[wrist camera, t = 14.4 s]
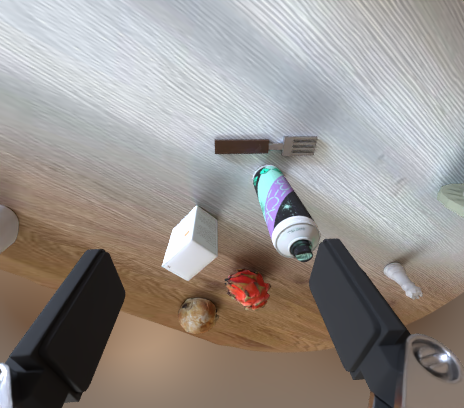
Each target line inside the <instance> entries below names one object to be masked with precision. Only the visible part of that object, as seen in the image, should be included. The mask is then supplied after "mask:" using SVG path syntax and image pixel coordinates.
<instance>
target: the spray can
mask: <svg viewBox="0 0 464 408" xmlns="http://www.w3.org/2000/svg"><path fill="white" fill-rule="evenodd" d="M253 184H254V187H255V190H256V193H257V196H258V199H259V202H260V206H261V209H262V212H263V215H264V218H265V221H266V224H267V227H268V230H269V233H270V236H271V239H272V242H273V245H274V247H275V248H276V250H277V252H278V253H279V254H280V255H282V256H284V257H287V258H297V259H298V260H299V261H301V262H307V261H309V260H311V259H312V257H313V254H312V251H314V250H315V249H316V248H317V246H318V245H319V243H320V240H321V234H320V231H319V229H318V226H317V225H316V223H315V222H314V220H313V219H312V217H311V216H310V214H309V213H308V211H307V210H306V208H305V207H304V205H303V204H302V202H301V201H300V199H299V198H298V196H297V195H296V193H295V192H294V190H293V189H292V187H291V186H290V184H289V183H288V181H287V180H286V178H285V177H284V175H283V174H282V172H281V171H280V169H279V168H278V167H276V166H274V165H264V166H261V167H260V168H258V169H257V170H256V172H255V173H254V175H253Z"/></svg>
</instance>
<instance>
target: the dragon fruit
mask: <svg viewBox="0 0 464 408" xmlns="http://www.w3.org/2000/svg"><path fill="white" fill-rule="evenodd" d="M236 271H238V272H237V273H236V274H233V275H229V277H228V279H225V281H227V280H228V281H227V282H226V283H224V284H225V285H226V287H227V288H228V293H227V294H228V295H229V296H232V295H230V293H232V294H234V295H236V297H235V298H234V296H232V299H234V300H237V302H238V303H240V304H241V303H242V304H243V306H244V307H245V309H246V310H248V309H249V308H250V307H251V308H252V310H258V309H259V308H261V307H262V308H263V307H264V306H265V304H266V303H267V300H268V298H269V297H270V295H269V294H268V293H267V291H268V290H269V289H270V288H271V286H270V284H269V283H267V284H266V283H264V281H263V278H262V275H261V274H260V272H258V271H257V272H256V274H255V273H253V272H250V271H249V270H245V269H237V270H236ZM229 282H230V283H229Z"/></svg>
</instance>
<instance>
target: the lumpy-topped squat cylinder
mask: <svg viewBox="0 0 464 408" xmlns="http://www.w3.org/2000/svg"><path fill="white" fill-rule="evenodd" d="M18 227H19V221H18V218H17V216H16V215H15V213H14V212H13V211H12V210H10V209H9V208H7V207H5V206H3V205H0V253H1V252H3V251H4V250H5V249H6V248H8V247H9V246H10V245H11V244H13V243H14V242H15V240H16V238H17V235H18Z"/></svg>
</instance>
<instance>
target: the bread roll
mask: <svg viewBox="0 0 464 408" xmlns="http://www.w3.org/2000/svg"><path fill="white" fill-rule="evenodd" d="M216 312H217V310H216V307H215V305H214V304H213V303H212V302H211V301H210V300H206V299H203V298H193V299H190V298H189V299H187V300H186V302H185V303H184V304H183V305H182V306H181V307H180V309H179V312H178V320H179V323H180V324H181V326H182V327H183V328H184V329H185V331H186V332H190V333H193V334H200V333H204V332H207V331H208V330H210V329H211V328H212V327H213V326H214V325H216V324H215V322H216V321H217V320H218V318H219V315H217V314H216Z"/></svg>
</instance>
